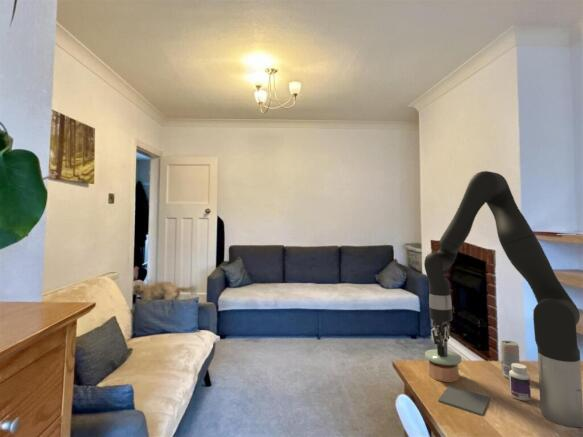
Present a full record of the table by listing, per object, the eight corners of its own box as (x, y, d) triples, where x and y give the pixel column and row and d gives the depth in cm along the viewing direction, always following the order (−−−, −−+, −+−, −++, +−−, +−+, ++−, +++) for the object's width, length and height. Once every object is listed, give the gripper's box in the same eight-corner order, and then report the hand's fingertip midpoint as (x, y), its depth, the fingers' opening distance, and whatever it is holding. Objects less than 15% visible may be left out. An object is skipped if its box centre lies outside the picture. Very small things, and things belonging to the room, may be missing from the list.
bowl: (461, 374, 115) (461, 361, 115) (454, 385, 108) (453, 371, 108) (433, 367, 122) (432, 355, 122) (424, 376, 114) (423, 363, 115)
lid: (465, 356, 115) (464, 340, 116) (456, 368, 106) (455, 350, 107) (431, 349, 123) (430, 334, 124) (420, 359, 114) (419, 342, 115)
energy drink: (514, 373, 115) (513, 340, 116) (523, 380, 110) (522, 345, 110) (499, 373, 116) (497, 340, 116) (507, 380, 110) (506, 345, 111)
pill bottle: (534, 402, 96) (533, 369, 97) (515, 400, 98) (513, 368, 98) (525, 393, 102) (523, 362, 102) (506, 391, 103) (505, 361, 103)
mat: (490, 398, 99) (490, 396, 99) (482, 415, 90) (482, 414, 90) (449, 386, 107) (449, 384, 107) (438, 401, 98) (438, 399, 98)
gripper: (445, 311, 108) (448, 363, 107) (456, 304, 119) (459, 350, 118) (423, 308, 113) (425, 357, 112) (435, 301, 124) (437, 346, 123)
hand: (442, 353), depth 115 cm, fingers closed on lid, 3 cm apart
